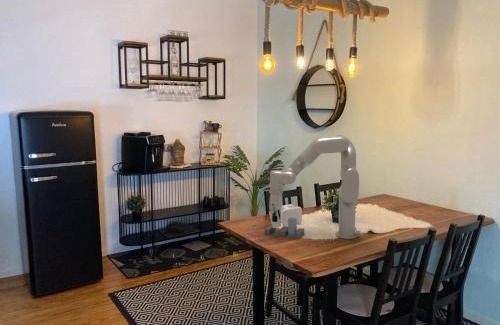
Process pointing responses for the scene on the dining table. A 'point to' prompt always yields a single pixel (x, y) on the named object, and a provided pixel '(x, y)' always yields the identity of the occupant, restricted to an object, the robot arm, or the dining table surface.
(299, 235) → the grey blocky pieces
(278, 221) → the cream plug
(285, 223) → the cable organizer
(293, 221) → the slate plug
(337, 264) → the dining table surface
